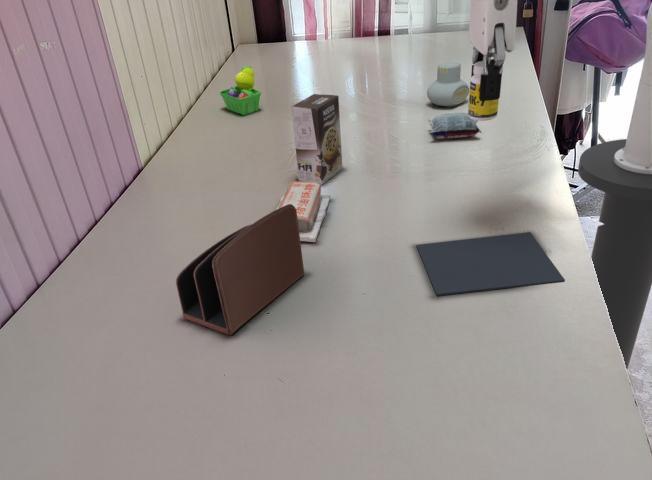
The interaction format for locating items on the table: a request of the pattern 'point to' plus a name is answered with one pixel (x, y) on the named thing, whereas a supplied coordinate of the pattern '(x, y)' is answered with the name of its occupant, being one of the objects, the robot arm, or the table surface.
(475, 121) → the packaged food
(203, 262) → the letter holder
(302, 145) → the coffee box
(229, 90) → the fruit basket
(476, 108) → the supplement bottle
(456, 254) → the mat
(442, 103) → the air freshener
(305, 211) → the packaged product
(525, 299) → the table surface
